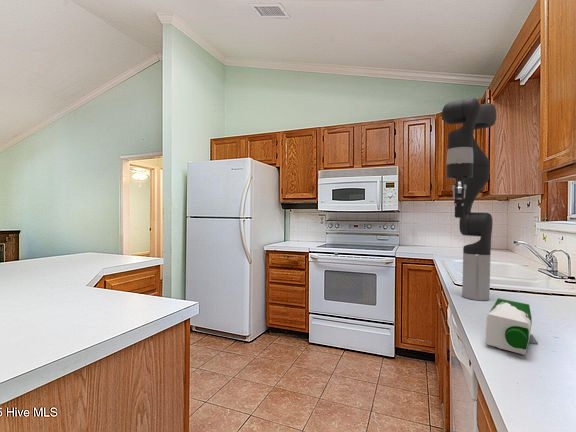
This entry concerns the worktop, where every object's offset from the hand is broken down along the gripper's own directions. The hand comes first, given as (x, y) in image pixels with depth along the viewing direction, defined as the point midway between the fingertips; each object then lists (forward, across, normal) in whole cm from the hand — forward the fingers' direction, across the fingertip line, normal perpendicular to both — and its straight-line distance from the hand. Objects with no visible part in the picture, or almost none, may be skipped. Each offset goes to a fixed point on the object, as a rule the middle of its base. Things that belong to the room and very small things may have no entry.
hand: (458, 217), depth 102 cm
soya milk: (+26, +8, +14) cm, 31 cm away
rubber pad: (+31, +14, +14) cm, 37 cm away
